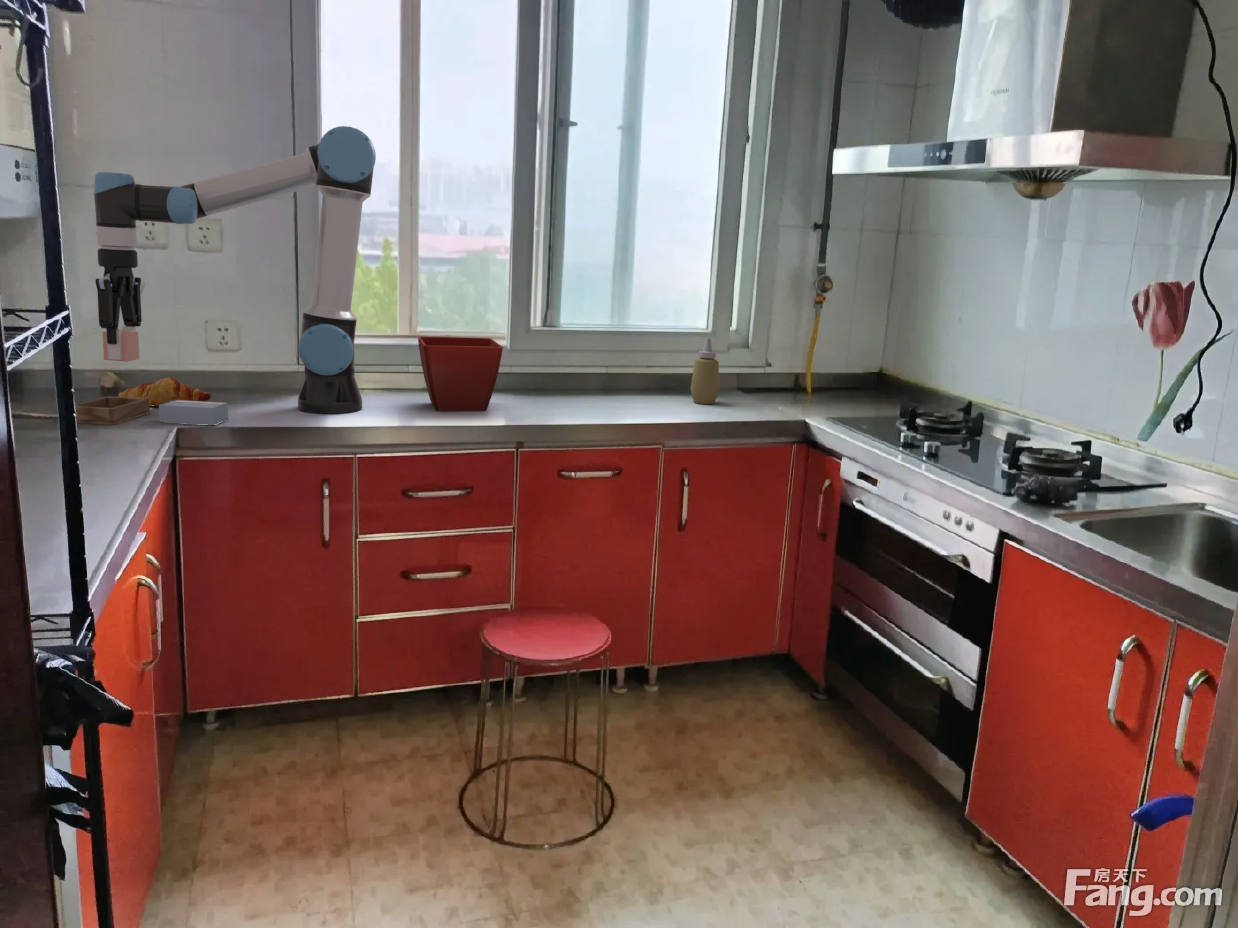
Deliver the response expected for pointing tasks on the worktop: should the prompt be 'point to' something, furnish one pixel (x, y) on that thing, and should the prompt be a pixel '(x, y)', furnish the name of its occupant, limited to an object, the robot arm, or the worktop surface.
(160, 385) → the croissant
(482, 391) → the plant pot
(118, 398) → the tray
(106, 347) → the pink block
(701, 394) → the squeeze bottle
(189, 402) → the grey flat block
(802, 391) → the worktop surface
